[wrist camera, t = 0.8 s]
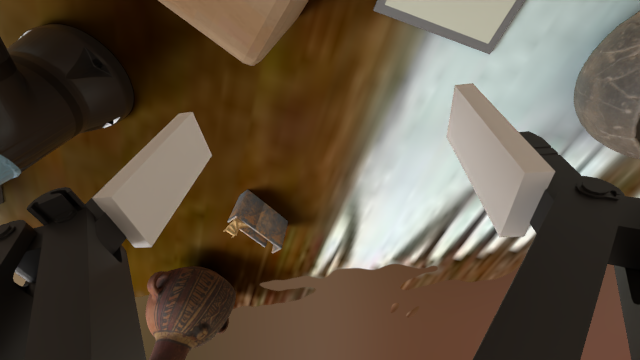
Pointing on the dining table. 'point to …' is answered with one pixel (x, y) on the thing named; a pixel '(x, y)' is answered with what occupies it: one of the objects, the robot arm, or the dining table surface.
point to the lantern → (1, 195)
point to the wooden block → (240, 23)
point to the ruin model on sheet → (257, 221)
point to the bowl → (613, 90)
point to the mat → (456, 18)
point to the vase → (186, 310)
